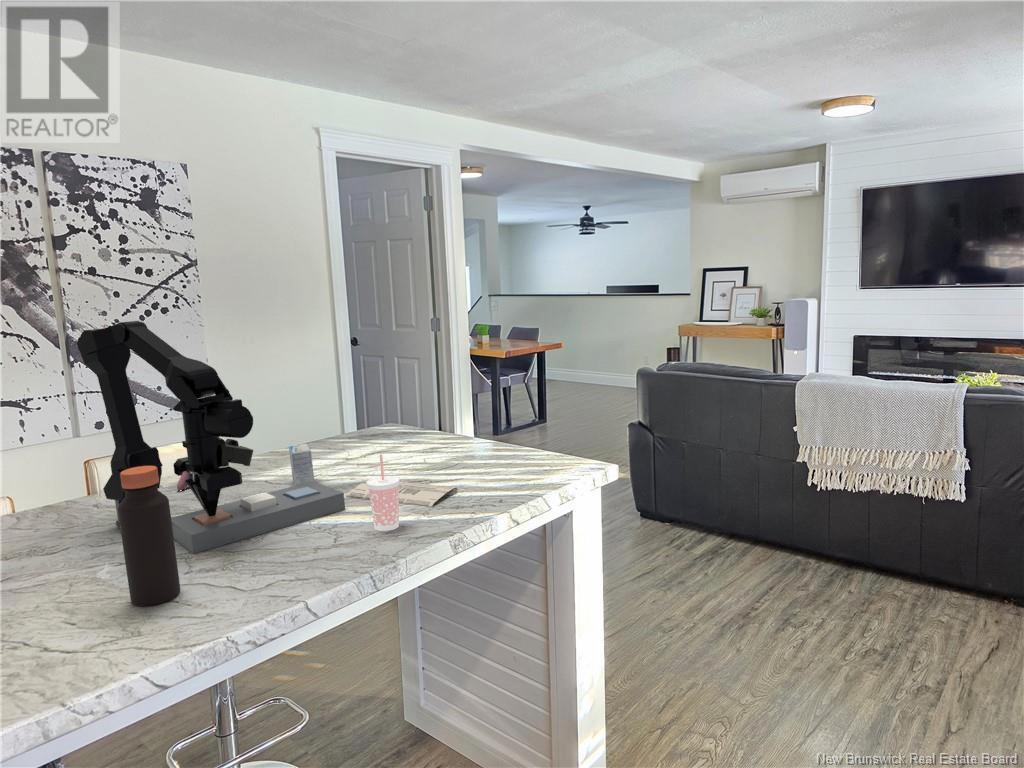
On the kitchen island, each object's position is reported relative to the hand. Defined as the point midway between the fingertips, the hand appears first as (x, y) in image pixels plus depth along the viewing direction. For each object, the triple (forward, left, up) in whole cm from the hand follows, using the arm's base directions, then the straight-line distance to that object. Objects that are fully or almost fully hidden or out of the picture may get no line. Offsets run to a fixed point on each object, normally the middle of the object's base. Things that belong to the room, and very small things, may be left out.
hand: (211, 515), depth 130 cm
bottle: (-16, -20, -4) cm, 26 cm away
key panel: (+9, 0, -4) cm, 10 cm away
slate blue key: (+18, 0, -3) cm, 18 cm away
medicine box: (+27, +18, -4) cm, 33 cm away
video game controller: (+10, +35, -4) cm, 36 cm away
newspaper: (+38, -7, -5) cm, 39 cm away
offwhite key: (+9, 0, -2) cm, 9 cm away
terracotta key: (0, 0, -3) cm, 3 cm away
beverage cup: (+24, -22, -4) cm, 33 cm away
